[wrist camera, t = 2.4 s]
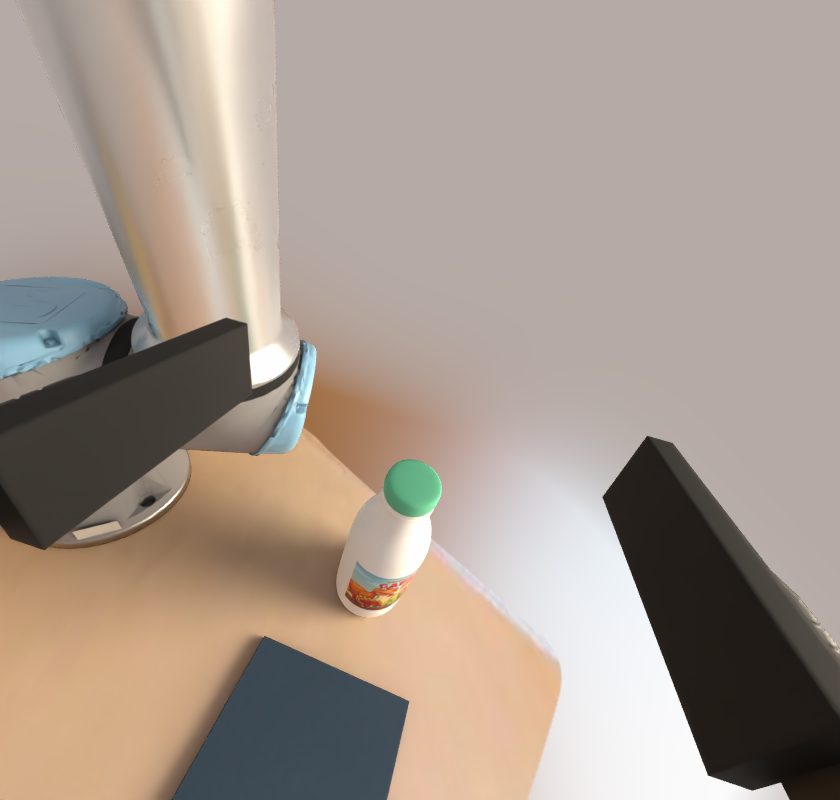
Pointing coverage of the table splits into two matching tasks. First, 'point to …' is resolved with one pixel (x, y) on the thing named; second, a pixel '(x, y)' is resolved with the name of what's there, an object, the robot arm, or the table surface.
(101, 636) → the table surface
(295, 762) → the placemat
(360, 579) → the milk bottle
